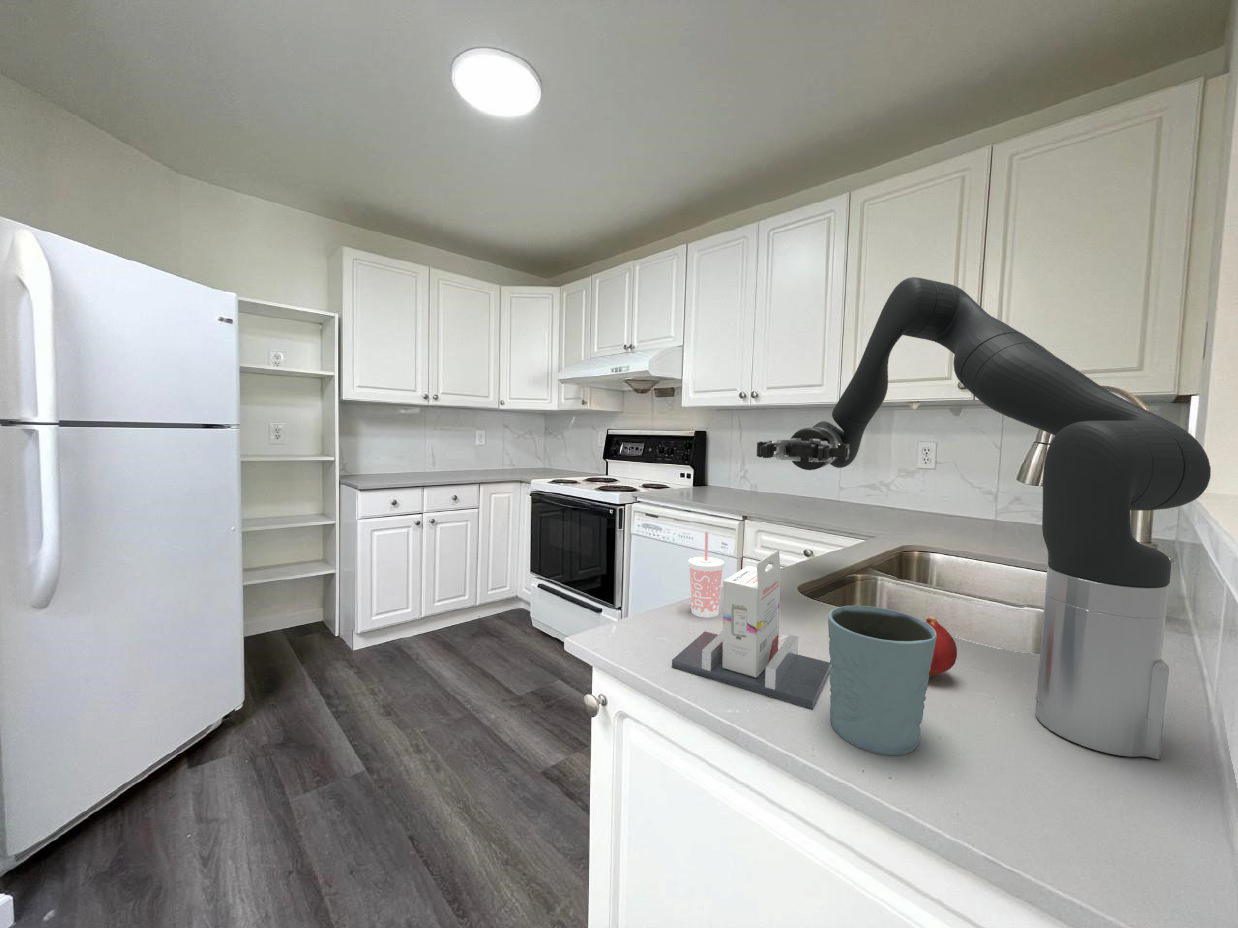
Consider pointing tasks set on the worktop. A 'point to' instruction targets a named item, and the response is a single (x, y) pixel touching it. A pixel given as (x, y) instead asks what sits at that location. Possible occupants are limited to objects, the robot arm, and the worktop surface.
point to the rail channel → (779, 679)
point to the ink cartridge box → (751, 617)
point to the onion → (942, 649)
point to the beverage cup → (705, 584)
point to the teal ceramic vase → (878, 677)
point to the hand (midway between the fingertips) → (791, 452)
